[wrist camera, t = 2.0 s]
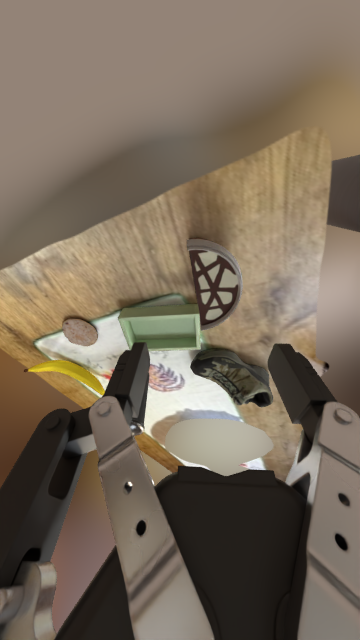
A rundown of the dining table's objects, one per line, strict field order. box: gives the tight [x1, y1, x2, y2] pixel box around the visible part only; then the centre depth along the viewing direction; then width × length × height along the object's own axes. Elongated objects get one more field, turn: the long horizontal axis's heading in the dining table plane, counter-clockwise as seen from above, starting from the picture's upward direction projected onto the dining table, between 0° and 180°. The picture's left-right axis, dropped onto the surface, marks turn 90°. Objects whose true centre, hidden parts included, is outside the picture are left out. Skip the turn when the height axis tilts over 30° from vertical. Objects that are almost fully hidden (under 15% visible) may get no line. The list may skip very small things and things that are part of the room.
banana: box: [24, 360, 105, 395], centre depth 44 cm, size 3×19×6 cm, turn 53°
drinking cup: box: [130, 373, 149, 436], centre depth 40 cm, size 8×8×20 cm
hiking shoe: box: [190, 349, 273, 407], centre depth 40 cm, size 8×21×9 cm, turn 68°
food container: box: [187, 238, 243, 330], centre depth 25 cm, size 12×6×10 cm, turn 12°
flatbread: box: [63, 319, 98, 346], centre depth 39 cm, size 8×8×1 cm
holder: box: [118, 304, 200, 351], centre depth 36 cm, size 15×9×4 cm, turn 95°
